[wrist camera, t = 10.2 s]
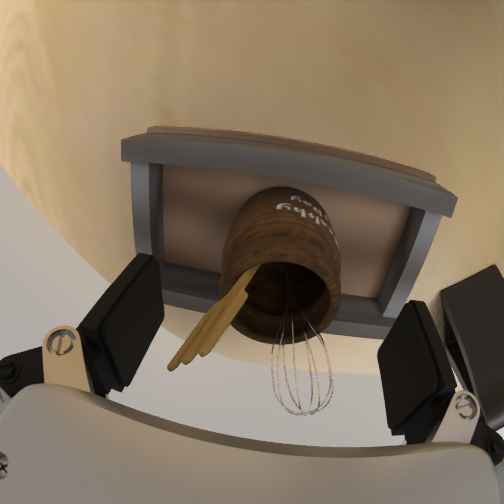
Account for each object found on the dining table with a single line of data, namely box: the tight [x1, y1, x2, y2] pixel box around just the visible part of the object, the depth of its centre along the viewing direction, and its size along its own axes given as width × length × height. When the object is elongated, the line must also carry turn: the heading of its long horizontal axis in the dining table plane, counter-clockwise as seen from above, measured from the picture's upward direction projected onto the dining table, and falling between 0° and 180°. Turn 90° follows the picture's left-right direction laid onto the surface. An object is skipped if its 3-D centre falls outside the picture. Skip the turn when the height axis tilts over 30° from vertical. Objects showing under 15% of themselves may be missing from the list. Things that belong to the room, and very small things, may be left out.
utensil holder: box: [167, 187, 341, 416], centre depth 12 cm, size 6×6×12 cm
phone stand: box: [441, 265, 504, 431], centre depth 14 cm, size 9×6×12 cm, turn 28°
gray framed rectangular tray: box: [121, 126, 458, 340], centre depth 17 cm, size 11×18×4 cm, turn 83°
